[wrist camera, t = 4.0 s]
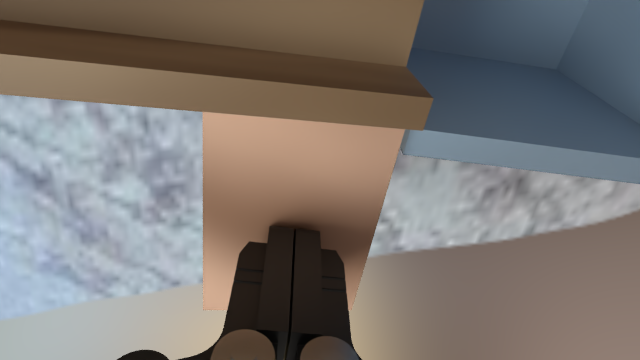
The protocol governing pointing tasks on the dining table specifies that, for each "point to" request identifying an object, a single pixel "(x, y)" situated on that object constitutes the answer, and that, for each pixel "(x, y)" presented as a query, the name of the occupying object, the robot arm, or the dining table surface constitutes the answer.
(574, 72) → the blue open bin
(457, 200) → the dining table surface
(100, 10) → the lever
